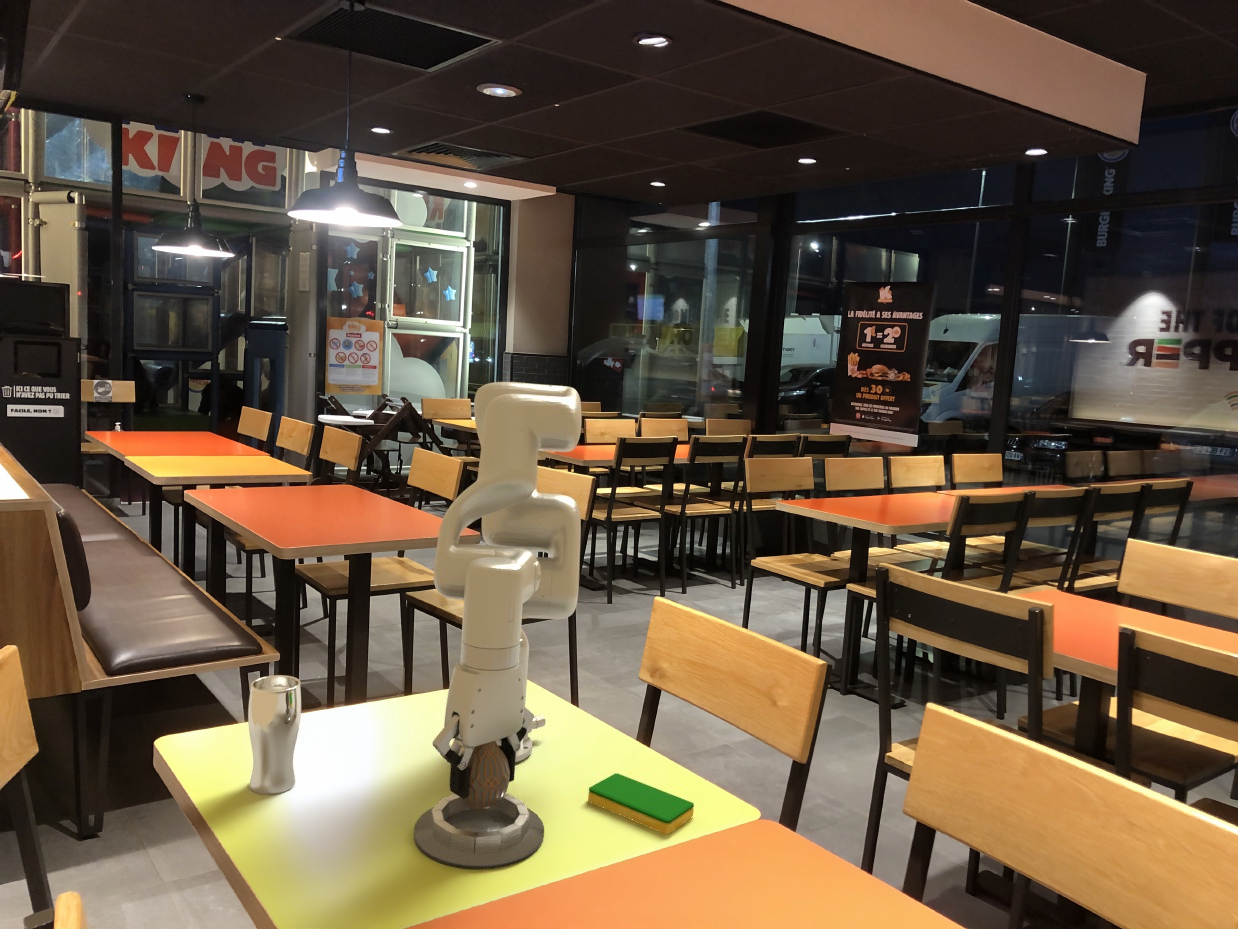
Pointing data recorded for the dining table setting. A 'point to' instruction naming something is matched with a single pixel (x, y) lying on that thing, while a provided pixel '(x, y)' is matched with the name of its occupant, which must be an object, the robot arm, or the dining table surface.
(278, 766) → the beer glass
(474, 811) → the ring seat
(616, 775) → the dish sponge
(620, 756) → the dining table surface
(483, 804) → the vase
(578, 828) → the dining table surface
